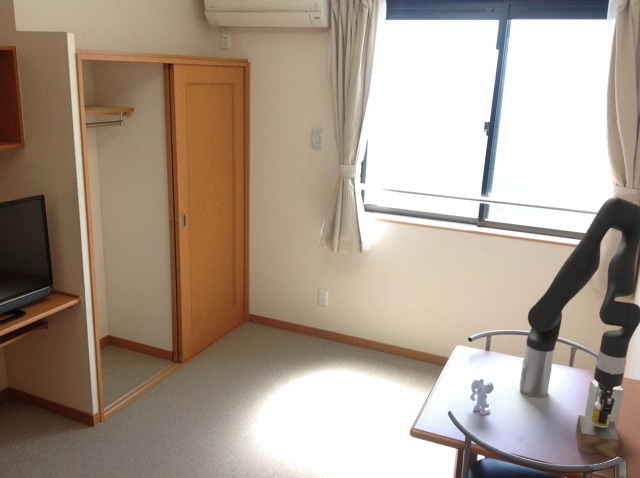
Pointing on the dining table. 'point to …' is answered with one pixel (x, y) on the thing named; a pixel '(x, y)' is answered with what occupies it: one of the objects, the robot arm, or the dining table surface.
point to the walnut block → (596, 437)
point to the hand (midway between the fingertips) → (600, 418)
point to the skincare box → (593, 398)
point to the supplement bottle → (596, 415)
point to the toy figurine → (481, 395)
